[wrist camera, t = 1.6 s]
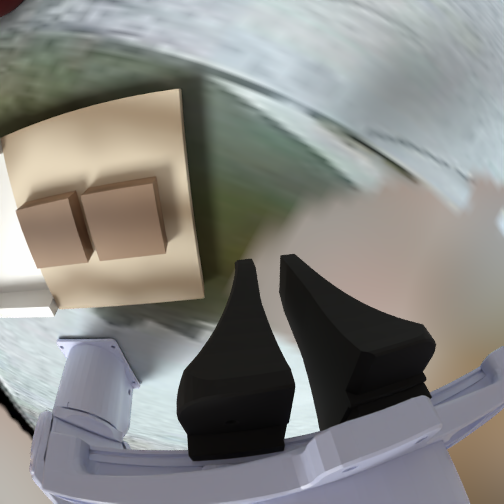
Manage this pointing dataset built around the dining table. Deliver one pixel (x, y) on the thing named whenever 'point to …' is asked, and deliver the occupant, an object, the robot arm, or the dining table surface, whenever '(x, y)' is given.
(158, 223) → the tile
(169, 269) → the board
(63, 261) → the tile
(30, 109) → the dining table surface
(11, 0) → the mug
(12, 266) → the tray
